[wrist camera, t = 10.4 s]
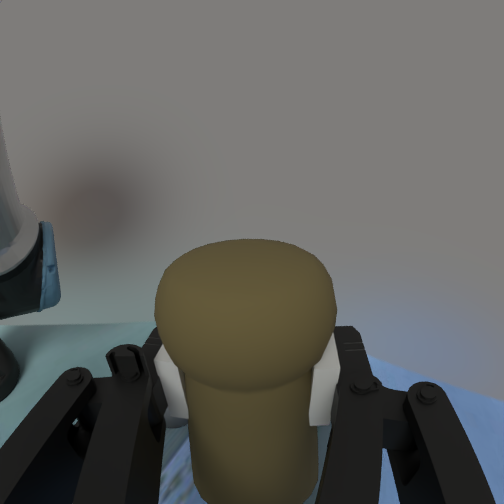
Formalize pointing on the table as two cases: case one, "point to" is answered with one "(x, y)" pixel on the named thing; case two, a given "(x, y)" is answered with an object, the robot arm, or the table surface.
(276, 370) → the cork
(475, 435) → the table surface
